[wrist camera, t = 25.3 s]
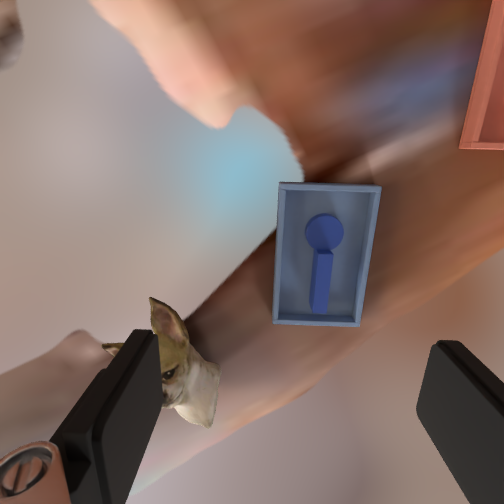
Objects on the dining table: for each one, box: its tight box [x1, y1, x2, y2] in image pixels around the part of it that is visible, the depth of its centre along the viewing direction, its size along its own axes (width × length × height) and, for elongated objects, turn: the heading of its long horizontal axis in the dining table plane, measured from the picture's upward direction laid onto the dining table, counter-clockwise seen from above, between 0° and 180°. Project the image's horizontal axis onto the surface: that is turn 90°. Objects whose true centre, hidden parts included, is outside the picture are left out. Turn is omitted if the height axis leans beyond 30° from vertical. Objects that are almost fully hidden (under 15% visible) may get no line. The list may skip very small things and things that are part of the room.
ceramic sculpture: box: [101, 297, 221, 429], centre depth 35 cm, size 11×9×15 cm
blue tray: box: [272, 182, 382, 327], centre depth 34 cm, size 16×10×2 cm, turn 178°
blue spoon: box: [305, 213, 344, 314], centre depth 33 cm, size 11×4×3 cm, turn 178°
